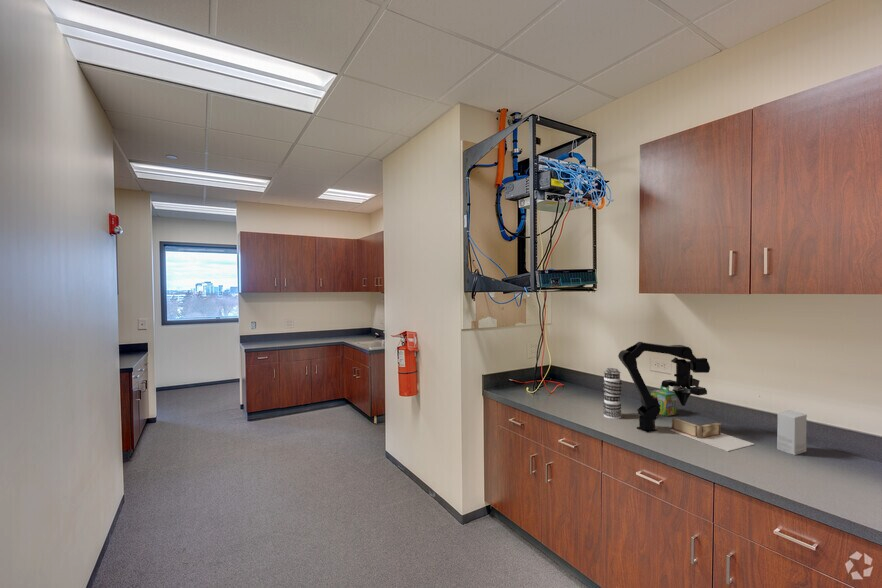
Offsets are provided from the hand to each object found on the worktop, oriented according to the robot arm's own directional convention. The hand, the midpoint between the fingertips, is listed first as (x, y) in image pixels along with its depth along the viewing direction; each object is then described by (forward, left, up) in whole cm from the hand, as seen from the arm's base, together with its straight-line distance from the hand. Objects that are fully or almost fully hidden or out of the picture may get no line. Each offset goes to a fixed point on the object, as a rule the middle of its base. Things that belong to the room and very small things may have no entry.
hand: (683, 405), depth 183 cm
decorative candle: (-14, +29, -12) cm, 34 cm away
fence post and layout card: (+4, -9, -12) cm, 16 cm away
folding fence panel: (+5, -9, -12) cm, 16 cm away
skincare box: (+19, -33, -12) cm, 40 cm away
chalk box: (+15, +22, -12) cm, 29 cm away
